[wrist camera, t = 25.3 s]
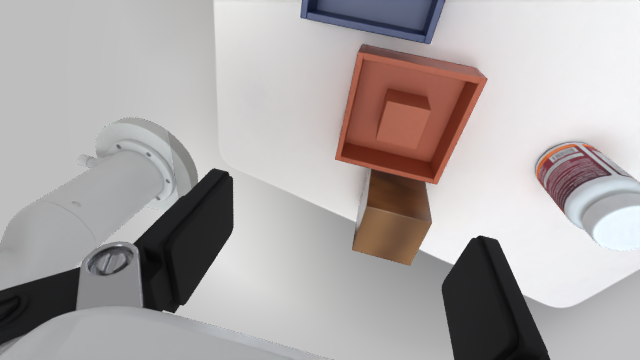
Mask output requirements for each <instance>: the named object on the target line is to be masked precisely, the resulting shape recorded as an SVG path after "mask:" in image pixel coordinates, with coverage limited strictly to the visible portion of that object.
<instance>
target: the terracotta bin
mask: <svg viewBox="0 0 640 360" xmlns="http://www.w3.org/2000/svg"><path fill="white" fill-rule="evenodd" d="M486 82H487V78H486V77H485V76H484V75H483V74H482V73H481V72H480V71H479V70H478V69H476V68H474V67H469V66H464V65H459V64H455V63H450V62H445V61H440V60H435V59H431V58H426V57H421V56H416V55H411V54H407V53H402V52H397V51H392V50H387V49H383V48H378V47H373V46H368V45H364V44H363V45H362V46H361V48H360V50H359V52H358V55H357V60H356V65H355V69H354V74H353V78H352V83H351V88H350V92H349V97H348V102H347V106H346V111H345V115H344V120H343V125H342V129H341V134H340V138H339V143H338V148H337V152H336V157H335V160H339V161H343V162H347V163H351V164H355V165H359V166H363V167H367V168H371V169H375V170H379V171H383V172H387V173H391V174H396V175H400V176H404V177H408V178H412V179H416V180H420V181H424V182H428V183H432V184H437V183H438V181H439V179H440V177H441V175H442V173H443V171H444V169H445V167H446V165H447V163H448V160H449V158H450V156H451V154H452V152H453V150H454V148H455V146H456V144H457V142H458V140H459V138H460V136H461V133H462V131H463V129H464V127H465V125H466V123H467V121H468V119H469V117H470V115H471V113H472V111H473V109H474V106H475V104H476V102H477V100H478V98H479V96H480V94H481V92H482V90H483V88H484V86H485V84H486ZM388 89H393V90H397V91H402V92H406V93H411V94H415V95H420V96H425V97H427V98H428V101H429V104H430V107H431V110H432V111H431V114H430V116H429V119H428V121H427V124H426V126H425V129H424V132H423V134H422V137H421V139H420V142H419V144H418V147H417V149H411V148H407V147H403V146H399V145H394V144H390V143H386V142H382V141H377V140H376V132H377V124H378V121H379V117H380V114H381V110H382V107H383V103H384V100H385V97H386V93H387V90H388Z"/></svg>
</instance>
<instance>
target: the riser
mask: <svg viewBox="0 0 640 360" xmlns="http://www.w3.org/2000/svg"><path fill="white" fill-rule="evenodd" d="M431 224H432V220H431V214H430V208H429V202H428V196H427V190H426V184H425V182H424V181H420V180H416V179H412V178H408V177H404V176H400V175H396V174H391V173H387V172H383V171H379V170H375V169H371V168H370V169H369V172H368V175H367V178H366V182H365V185H364V188H363V192H362V195H361V198H360V203H359V209H358V215H357V222H356V229H355V234H354V241H353V247H352V250H354V251H358V252H361V253H365V254H369V255H372V256H376V257H380V258H383V259H387V260H391V261H395V262H398V263H402V264H405V265H411V262H412V261H413V259H414V257H415V255H416V253H417V251H418V249H419V247H420V245H421V243H422V241H423V239H424V238H425V236H426V234H427V232H428V230H429V228H430V226H431Z"/></svg>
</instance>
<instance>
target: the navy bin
mask: <svg viewBox="0 0 640 360" xmlns="http://www.w3.org/2000/svg"><path fill="white" fill-rule="evenodd" d="M444 3H445V0H302V6H301V16H300V17H301V18H304V19H309V20H313V21H318V22H323V23H328V24H333V25H338V26H343V27H348V28H353V29H357V30H362V31H367V32H372V33H377V34H382V35H387V36H392V37H397V38H401V39H406V40H411V41H416V42H421V43H423V42H424V43H426V44H430V43H431V40H432V37H433V34H434V32H435V29H436V26H437V23H438V20H439V17H440V14H441V11H442V8H443V5H444Z"/></svg>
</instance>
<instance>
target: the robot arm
mask: <svg viewBox="0 0 640 360" xmlns="http://www.w3.org/2000/svg"><path fill="white" fill-rule="evenodd" d="M77 163H78V164H79V165H81V166H85V167H89V168H91V169H89V170H88V171H86V172H84V173H83V174H81V175H79V176H78V177H76V178H74V179H72V180H71V181H69V182H67V183H66V184H64V185H62V186H60V187H59V188H58V189H55V190H54V191H52V192H50V193H49V194H47V195H45V196H44V197H42V198H40V199H38V200H37V201H35V202H33V203H32V204H30V205H28V206H27V207H25V208H23V209H22V210H21V211H19V212H18V213H17V214H16V215H15V216H14V217H13V218H12V220H11V221H10V222H9V224H8V226H7V228H6V230H5V232H4V235H3V237H2V240H1V243H0V360H331V359H328V358H325V357H321V356H318V355H314V354H311V353H308V352H304V351H301V350H298V349H294V348H290V347H287V346H284V345H280V344H277V343H273V342H270V341H267V340H263V339H260V338H256V337H252V336H249V335H245V334H242V333H239V332H235V331H231V330H228V329H225V328H221V327H217V326H214V325H211V324H207V323H203V322H199V321H196V320H192V319H188V318H184V317H181V316H177V315H173V314H169V313H164V312H162V311H163V310H165V311H168V312H172V313H175V311H176V310H177V309H178V307H179V306H180V305H184V304H186V302H187V301H188V300H189V298H190V296H191V295H192V293H193V292H194V290H195V289H196V287H197V286H198V284H199V283H200V281H201V280H202V278H203V276H204V275H205V273H206V272H207V270H208V269H209V267H210V266H211V264H212V263H213V261H214V260H215V258H216V256H217V255H218V253H219V252H220V250H221V249H222V247H223V246H224V244H225V243H226V241H227V240H228V238H229V237H230V235H231V233H232V230H233V178H232V177H231V176H229V173H228V172H227V171H223V170H218V169H215V168H214V169H212V170H211V171H210V172H209V173H208V174H207V175H206V176H205V177H204V178H203V179H202V180H201V181H200V182H199V183H198V184H197V185H196V186H195V187H194V188H193V189H192V190H191V191H190V192H189V193H188V194H187V195H185V196H182V197H181V198H179V199H178V200H177V201H176V202H175V203H174V204H173V205H172V206H171V207H170V208H169V209H168V210H167V211H166V212H165V213H164V214H163V215H162V216H161V217H160V218H159V219H158V220H157V221H156V222H155V223H154V224H153V225H152V226H151V227H150V228H149V229H148V230H147V231H146V232H145V233H144V234H143V235H142V236H141V237H140V238H139V239H138V240H137V241H136V242H134V244H131V243H128V242H113V243H109V244H106V245H103V246H101V247H99V248H97V247H98V246H100V245H101V244H102V243H103V242H104V241H105V240H106V239H108V238H109V237H110V236H111V235H112V234H113V233H114V232H116V231H117V230H118V229H119V228H120V227H121V226H123V225H124V224H125V223H126V222H127V221H128V220H129V219H131V218H132V217H133V216H134V215H135V214H136V213H138V212H139V211H140V210H141V209H142V208H143V207H144V206H146V205H147V204H148V203H149V202H150V201H151V202H159V201H163V200H166V199H167V198H168V197H169V196H171V194H172V193H173V192H174V189H175V184H176V183H175V177H174V174H173V171H172V169H171V167H170V166H169V164H168V163H167V161H166V160H165V159H164V158H163V157H162V156H161V155H160V154H159V153H158V152H157V151H156V150H154V149H153V148H151V147H150V146H148V145H146V144H144V143H142V142H139V141H136V140H131V139H123V140H120V141H118V142H116V143H114V144H112V145H111V146H110V147H109V149H108V151H107V156H106V157H104V158H97V159H95V158H94V157H90V156H87V155H81V156H79V157H78V159H77ZM96 248H97V249H96ZM83 259H84V260H83ZM82 260H83V262H82V265H81V267H79V268H75V269H73V268H74V267H76V266H77V265H78V264H79V263H80V262H81V261H82ZM442 295H443V300H444V306H445V311H446V316H447V322H448V327H449V333H450V338H451V344H452V349H453V355H454V360H550V358H549V355H548V351H547V349H546V346H545V344H544V342H543V340H542V338H541V335H540V333H539V331H538V329H537V327H536V324H535V322H534V320H533V317H532V315H531V313H530V311H529V308H528V307H527V304H526V302H525V300H524V297H523V295H522V293H521V291H520V288H519V286H518V284H517V282H516V279H515V277H514V275H513V273H512V271H511V268H510V266H509V264H508V262H507V259H506V257H505V255H504V253H503V250H502V248H501V246H500V244H499V242H498V240H496V239H493V238H489V237H485V236H478V237H477V238H472V239H471V240H470V242H469V243H468V245H467V246H466V248H465V249H464V251H463V252H462V254H461V256H460V257H459V259H458V260H457V262H456V263H455V265H454V266H453V268H452V269H451V271H450V273H449V274H448V276H447V277H446V279H445V280H444V282H443V284H442Z"/></svg>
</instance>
